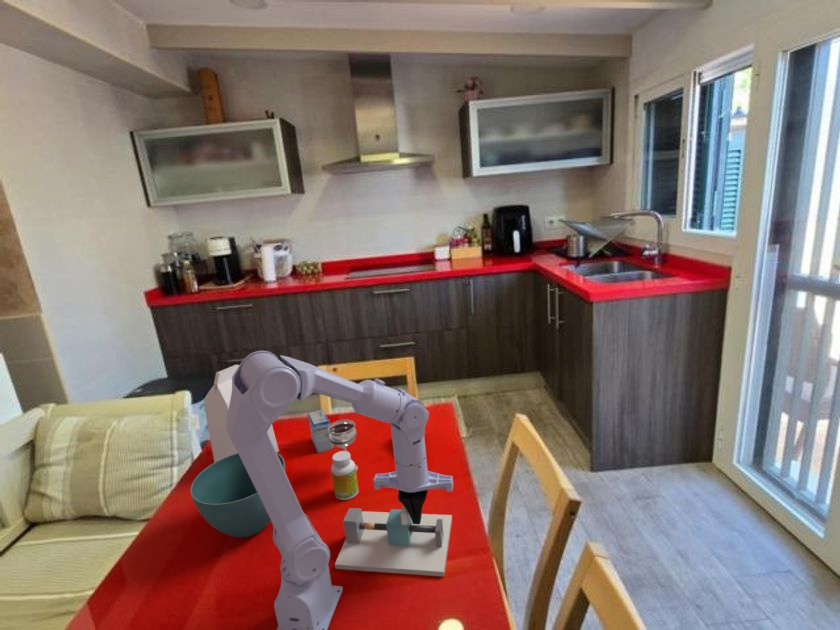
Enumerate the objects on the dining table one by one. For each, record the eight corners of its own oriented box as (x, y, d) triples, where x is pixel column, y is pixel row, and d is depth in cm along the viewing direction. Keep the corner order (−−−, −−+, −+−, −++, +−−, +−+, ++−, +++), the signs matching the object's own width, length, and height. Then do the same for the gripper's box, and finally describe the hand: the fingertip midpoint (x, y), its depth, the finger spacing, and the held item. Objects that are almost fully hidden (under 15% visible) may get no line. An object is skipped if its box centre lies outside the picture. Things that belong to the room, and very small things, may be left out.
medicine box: (312, 440, 125) (307, 413, 123) (327, 435, 127) (322, 408, 125) (317, 453, 118) (312, 424, 116) (334, 448, 120) (329, 420, 118)
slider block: (409, 545, 82) (405, 513, 80) (388, 544, 83) (384, 512, 81) (413, 529, 86) (409, 499, 84) (393, 528, 87) (389, 498, 85)
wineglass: (364, 472, 108) (358, 428, 105) (337, 481, 106) (330, 436, 103) (357, 458, 114) (351, 417, 111) (331, 466, 112) (325, 424, 109)
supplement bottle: (354, 501, 98) (348, 463, 96) (331, 500, 99) (325, 462, 97) (361, 486, 103) (356, 449, 101) (340, 484, 104) (334, 448, 102)
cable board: (444, 576, 77) (441, 548, 75) (335, 568, 80) (330, 541, 79) (452, 519, 90) (449, 494, 88) (358, 515, 94) (355, 490, 92)
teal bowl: (311, 511, 96) (302, 462, 93) (237, 571, 82) (224, 515, 79) (260, 487, 106) (250, 442, 103) (186, 536, 92) (172, 486, 89)
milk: (242, 475, 112) (220, 381, 105) (214, 464, 118) (193, 374, 111) (279, 451, 121) (261, 363, 115) (252, 442, 128) (234, 358, 121)
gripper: (452, 445, 82) (457, 507, 85) (377, 444, 84) (385, 504, 88) (448, 468, 75) (454, 534, 79) (367, 466, 78) (375, 530, 81)
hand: (417, 520), depth 83 cm, fingers closed
